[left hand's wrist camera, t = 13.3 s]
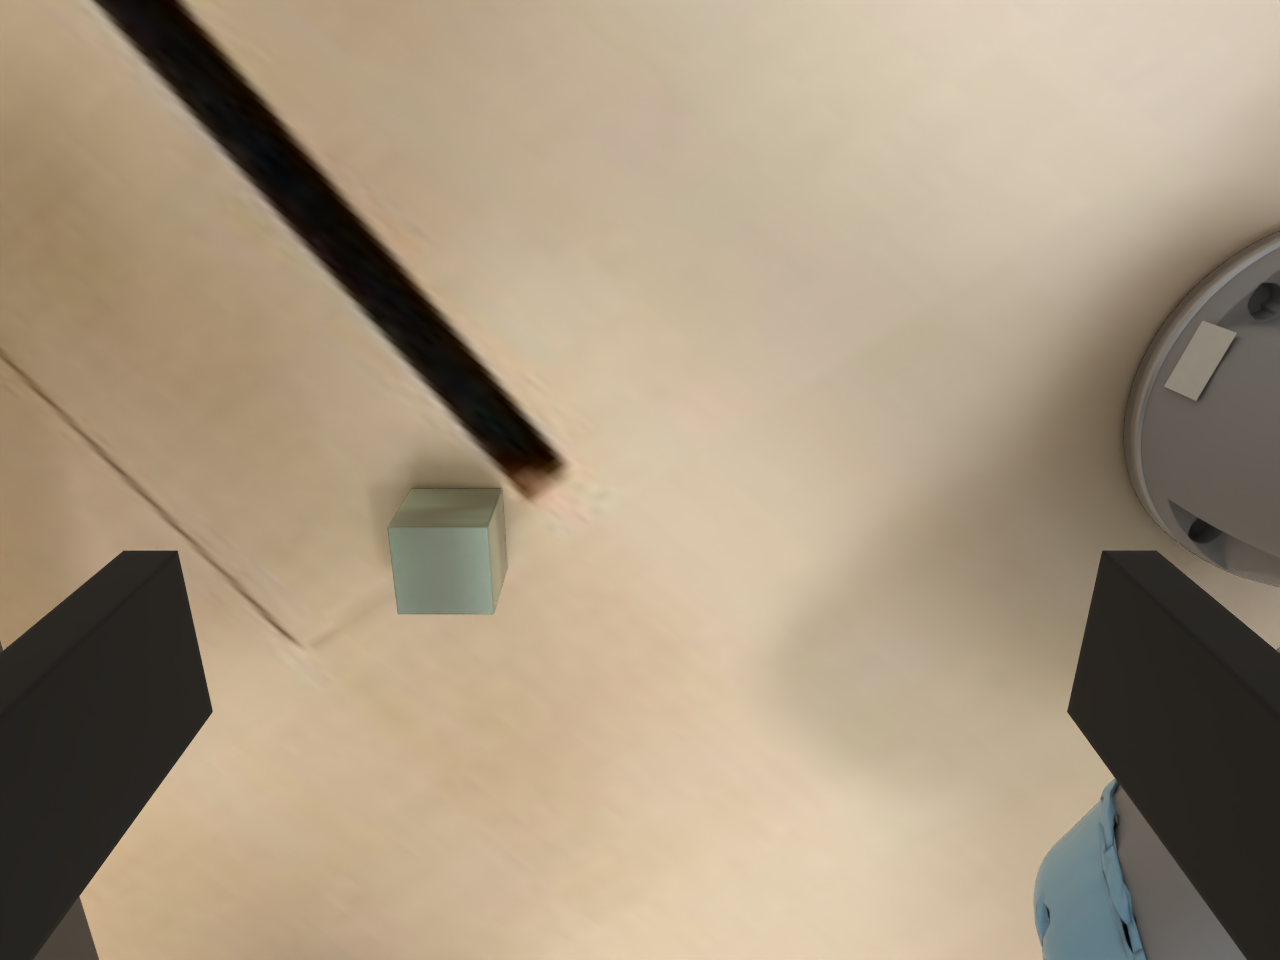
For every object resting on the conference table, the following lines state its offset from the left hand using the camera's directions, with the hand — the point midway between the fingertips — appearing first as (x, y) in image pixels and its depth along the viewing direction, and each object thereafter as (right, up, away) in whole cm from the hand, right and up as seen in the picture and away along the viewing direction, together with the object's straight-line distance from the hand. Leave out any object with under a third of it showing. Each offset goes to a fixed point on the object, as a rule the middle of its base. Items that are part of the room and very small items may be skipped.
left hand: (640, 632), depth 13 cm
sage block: (-8, 0, +27) cm, 28 cm away
